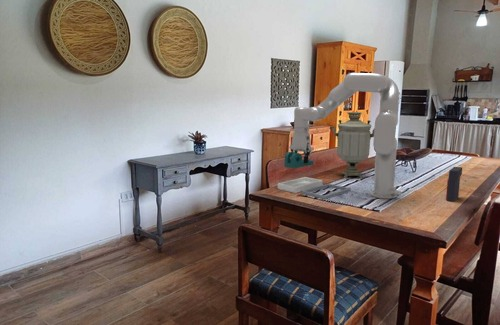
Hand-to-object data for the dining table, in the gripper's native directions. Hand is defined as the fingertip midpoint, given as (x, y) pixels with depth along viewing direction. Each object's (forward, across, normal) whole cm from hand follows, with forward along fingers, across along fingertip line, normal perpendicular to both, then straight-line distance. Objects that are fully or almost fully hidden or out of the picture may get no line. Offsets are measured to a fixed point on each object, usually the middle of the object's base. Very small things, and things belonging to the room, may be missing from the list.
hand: (300, 162), depth 200 cm
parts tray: (+14, 0, 0) cm, 14 cm away
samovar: (+14, -4, -47) cm, 49 cm away
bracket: (+2, 0, 0) cm, 2 cm away
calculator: (+14, -67, -34) cm, 77 cm away
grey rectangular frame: (+14, -17, -1) cm, 22 cm away
